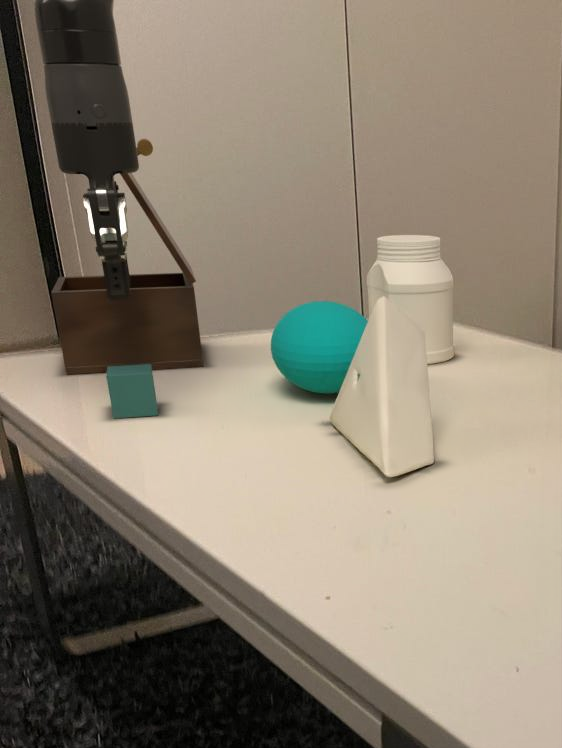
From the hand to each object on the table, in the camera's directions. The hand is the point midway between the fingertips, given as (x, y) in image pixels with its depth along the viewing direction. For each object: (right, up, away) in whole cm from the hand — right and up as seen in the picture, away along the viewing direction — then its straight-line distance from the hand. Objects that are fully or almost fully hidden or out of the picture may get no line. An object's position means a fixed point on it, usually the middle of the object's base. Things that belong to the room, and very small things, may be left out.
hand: (120, 293), depth 104 cm
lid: (-4, +18, +21) cm, 28 cm away
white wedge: (+30, -18, -6) cm, 35 cm away
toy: (+20, -7, +14) cm, 25 cm away
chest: (-8, +1, +29) cm, 30 cm away
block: (0, -11, +5) cm, 12 cm away
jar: (+28, +2, +31) cm, 42 cm away
